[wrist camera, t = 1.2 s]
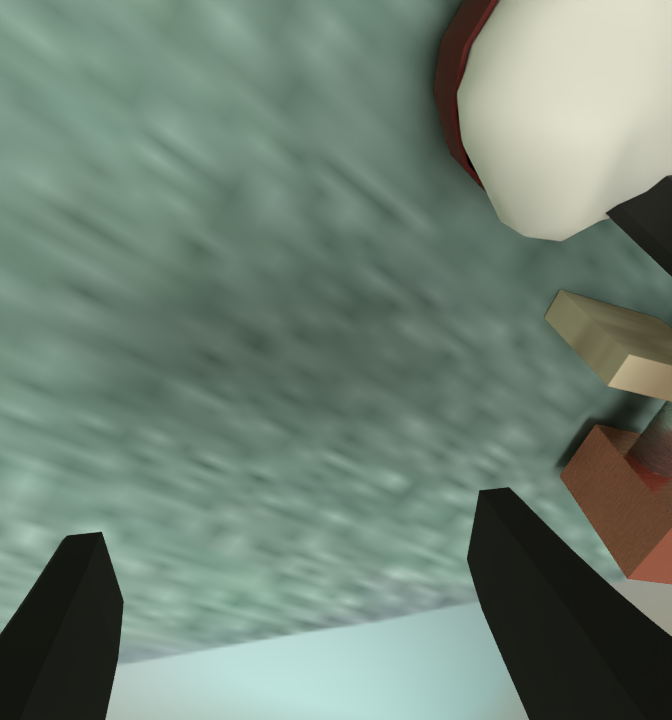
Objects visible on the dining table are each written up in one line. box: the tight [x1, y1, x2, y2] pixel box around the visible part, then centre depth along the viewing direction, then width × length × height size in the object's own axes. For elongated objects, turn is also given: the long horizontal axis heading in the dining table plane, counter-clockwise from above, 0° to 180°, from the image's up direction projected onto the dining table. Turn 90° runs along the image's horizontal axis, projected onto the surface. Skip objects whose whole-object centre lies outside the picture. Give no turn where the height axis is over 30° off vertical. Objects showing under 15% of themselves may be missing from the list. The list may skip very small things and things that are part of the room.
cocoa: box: [433, 0, 672, 276], centre depth 13 cm, size 10×6×12 cm, turn 11°
